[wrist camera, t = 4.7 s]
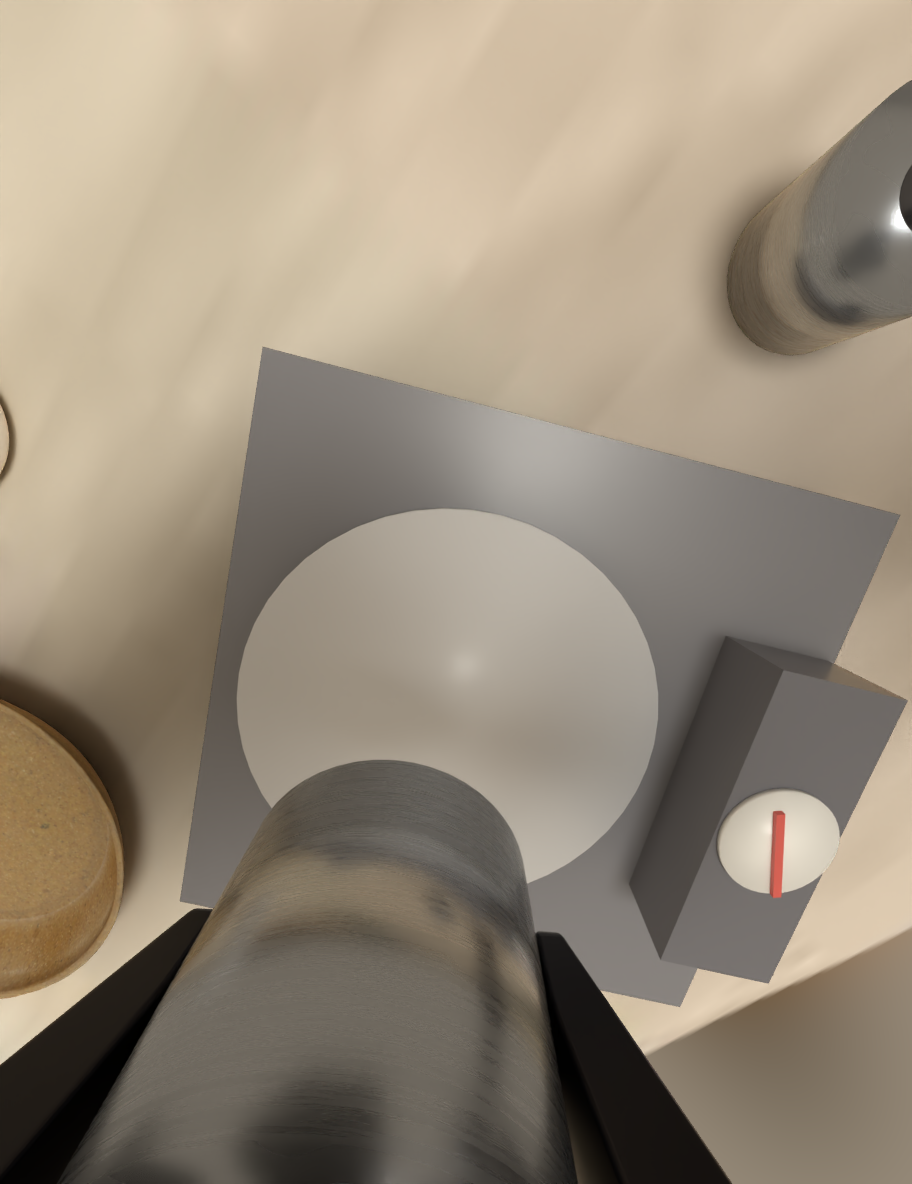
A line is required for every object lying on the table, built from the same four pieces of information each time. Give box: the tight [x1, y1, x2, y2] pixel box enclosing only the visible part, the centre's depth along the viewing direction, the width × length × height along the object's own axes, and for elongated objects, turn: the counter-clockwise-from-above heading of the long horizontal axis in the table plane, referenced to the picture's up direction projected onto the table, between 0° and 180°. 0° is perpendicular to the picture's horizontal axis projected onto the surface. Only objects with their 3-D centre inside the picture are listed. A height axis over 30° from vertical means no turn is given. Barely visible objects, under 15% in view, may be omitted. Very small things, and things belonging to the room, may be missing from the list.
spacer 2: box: [727, 80, 912, 355], centre depth 14 cm, size 5×5×5 cm
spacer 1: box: [57, 760, 578, 1184], centre depth 7 cm, size 5×5×5 cm
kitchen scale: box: [180, 347, 908, 1007], centre depth 17 cm, size 20×20×6 cm
